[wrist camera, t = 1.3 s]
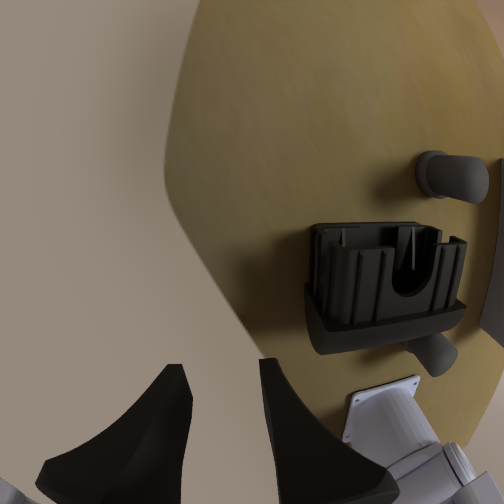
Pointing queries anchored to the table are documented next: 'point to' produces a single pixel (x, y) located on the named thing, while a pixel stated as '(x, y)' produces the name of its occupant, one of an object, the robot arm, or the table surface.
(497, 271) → the breaker strip
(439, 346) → the dark grey cylinder
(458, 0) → the table surface
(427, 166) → the gray rounded knob
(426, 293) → the end cap
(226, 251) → the table surface
